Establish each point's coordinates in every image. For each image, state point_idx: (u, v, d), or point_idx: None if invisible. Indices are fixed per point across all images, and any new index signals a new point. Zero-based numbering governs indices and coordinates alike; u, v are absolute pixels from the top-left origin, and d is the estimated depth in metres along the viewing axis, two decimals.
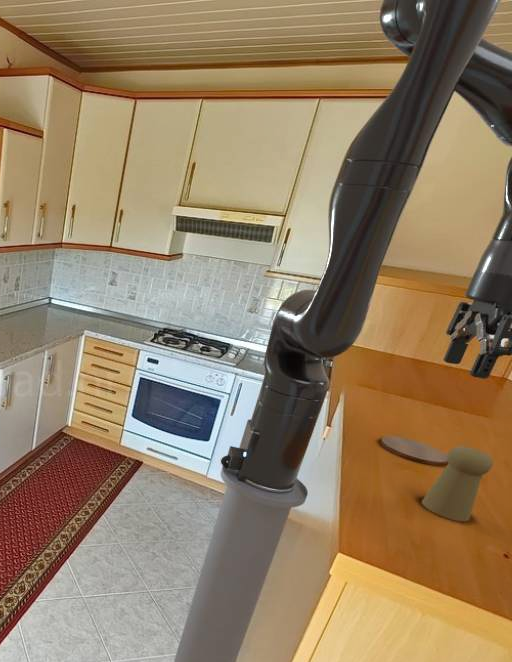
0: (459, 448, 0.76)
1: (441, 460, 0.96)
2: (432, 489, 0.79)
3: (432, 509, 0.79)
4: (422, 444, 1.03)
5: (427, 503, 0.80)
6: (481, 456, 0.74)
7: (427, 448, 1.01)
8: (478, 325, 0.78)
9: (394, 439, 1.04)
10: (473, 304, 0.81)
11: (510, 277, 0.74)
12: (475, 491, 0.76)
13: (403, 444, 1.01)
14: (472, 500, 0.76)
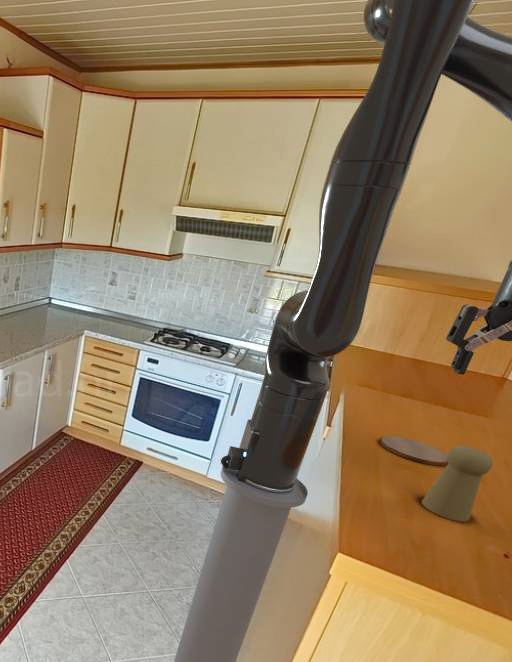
0: (459, 448, 0.76)
1: (441, 460, 0.96)
2: (432, 489, 0.79)
3: (432, 509, 0.79)
4: (422, 444, 1.03)
5: (427, 503, 0.80)
6: (481, 456, 0.74)
7: (427, 448, 1.01)
8: None
9: (394, 439, 1.04)
10: (503, 309, 0.71)
11: None
12: (475, 491, 0.76)
13: (403, 444, 1.01)
14: (472, 500, 0.76)
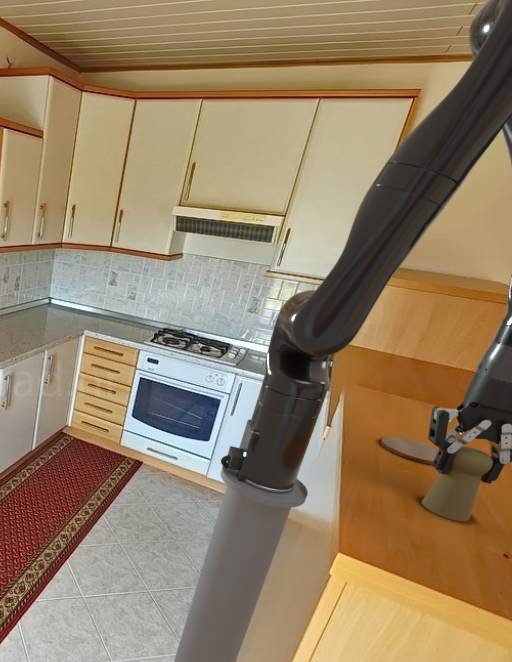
0: None
1: None
2: (432, 489, 0.79)
3: (432, 509, 0.79)
4: (422, 444, 1.03)
5: (427, 503, 0.80)
6: (480, 456, 0.74)
7: (427, 448, 1.01)
8: (504, 435, 0.72)
9: (394, 439, 1.04)
10: (472, 409, 0.73)
11: None
12: (475, 491, 0.76)
13: (403, 444, 1.01)
14: (472, 500, 0.76)
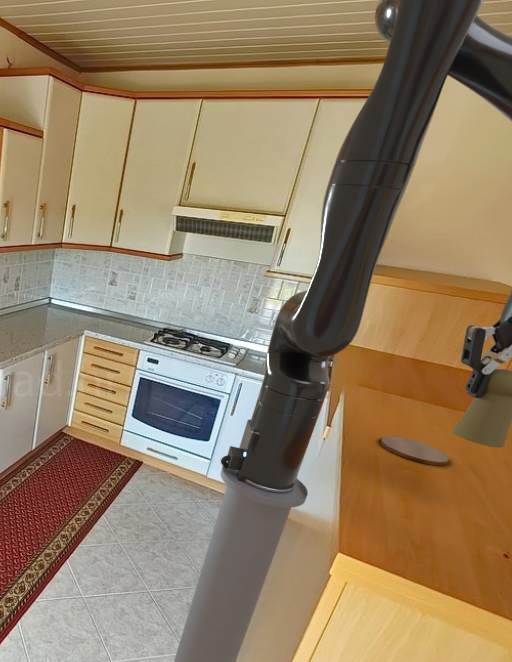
0: (494, 370, 0.72)
1: (441, 460, 0.96)
2: (464, 416, 0.75)
3: (464, 436, 0.75)
4: (422, 444, 1.03)
5: (459, 431, 0.76)
6: None
7: (427, 448, 1.01)
8: None
9: (394, 439, 1.04)
10: (510, 325, 0.69)
11: None
12: (511, 415, 0.72)
13: (403, 444, 1.01)
14: (508, 424, 0.72)
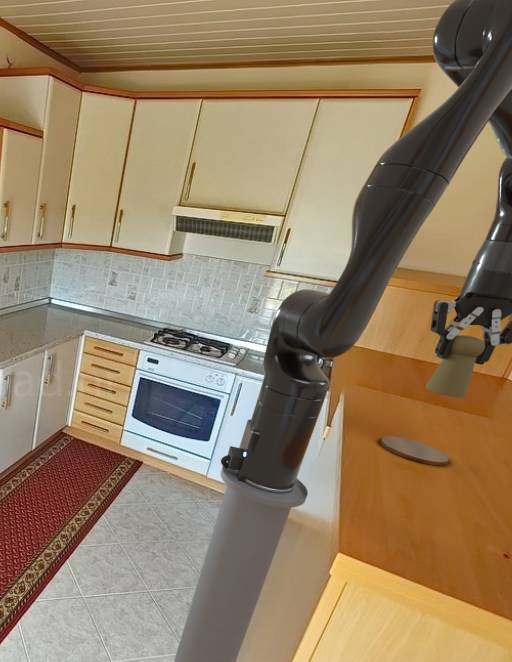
0: (457, 336, 0.91)
1: (441, 460, 0.96)
2: (434, 374, 0.94)
3: (434, 390, 0.93)
4: (422, 444, 1.03)
5: (430, 386, 0.94)
6: (475, 340, 0.88)
7: (427, 448, 1.01)
8: (494, 320, 0.87)
9: (394, 439, 1.04)
10: (467, 299, 0.87)
11: None
12: (470, 371, 0.90)
13: (403, 444, 1.01)
14: (468, 379, 0.90)
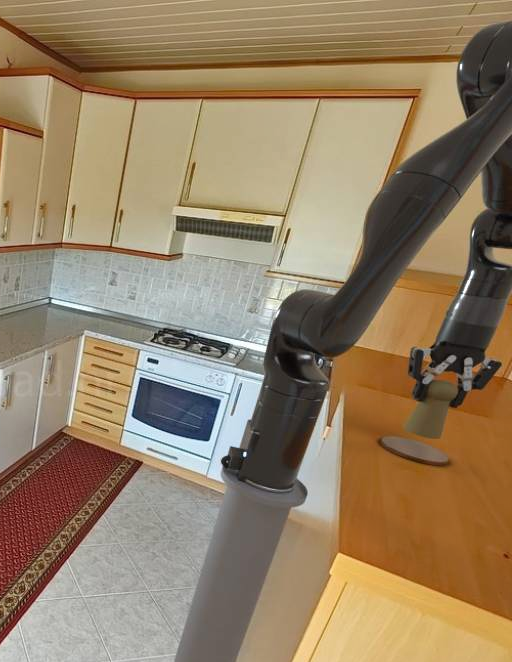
0: (432, 380, 0.96)
1: (441, 460, 0.96)
2: (411, 415, 0.99)
3: (411, 431, 0.98)
4: (422, 444, 1.03)
5: (407, 427, 0.99)
6: (448, 385, 0.94)
7: (427, 448, 1.01)
8: (466, 367, 0.92)
9: (394, 439, 1.04)
10: (441, 347, 0.93)
11: (496, 327, 0.89)
12: (444, 414, 0.95)
13: (403, 444, 1.01)
14: (442, 421, 0.95)
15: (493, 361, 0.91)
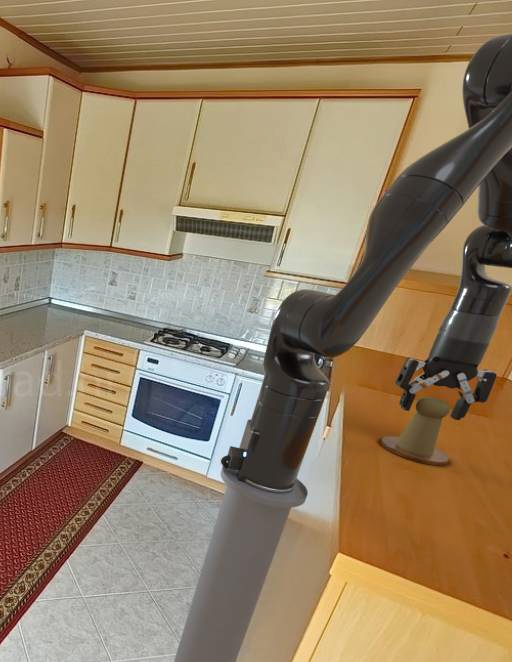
0: (424, 398, 0.97)
1: (441, 460, 0.96)
2: (404, 432, 1.00)
3: (404, 447, 0.99)
4: None
5: (400, 443, 1.00)
6: (440, 403, 0.95)
7: None
8: (462, 382, 0.93)
9: (394, 439, 1.04)
10: (436, 363, 0.94)
11: (489, 343, 0.90)
12: (437, 431, 0.96)
13: None
14: (434, 438, 0.97)
15: (487, 373, 0.92)
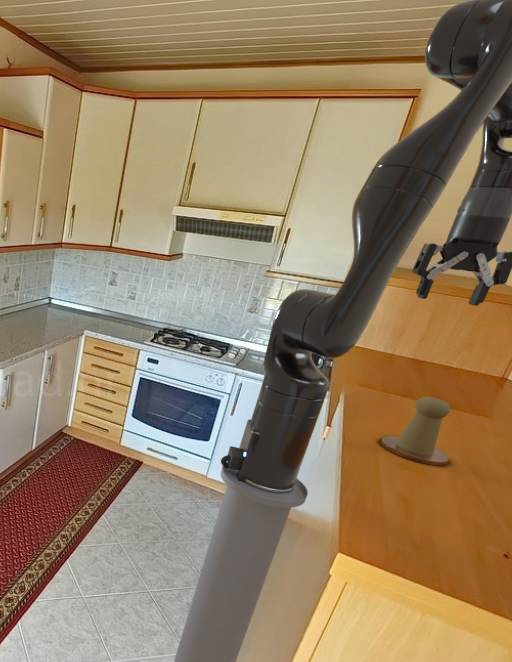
0: (424, 398, 0.97)
1: (441, 460, 0.96)
2: (404, 432, 1.00)
3: (404, 447, 0.99)
4: None
5: (400, 443, 1.00)
6: (440, 403, 0.95)
7: None
8: (481, 263, 0.91)
9: (394, 439, 1.04)
10: (454, 245, 0.92)
11: (509, 220, 0.89)
12: (437, 431, 0.96)
13: None
14: (434, 438, 0.97)
15: (507, 253, 0.90)
